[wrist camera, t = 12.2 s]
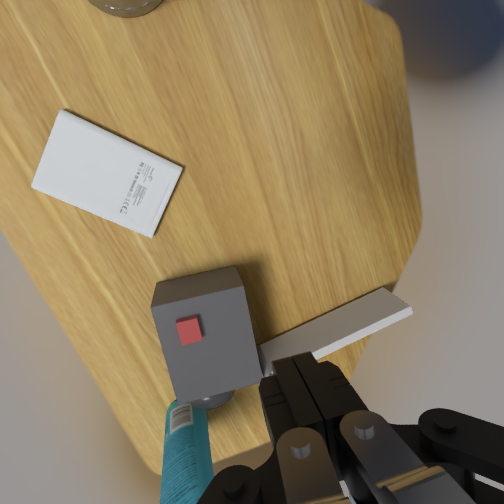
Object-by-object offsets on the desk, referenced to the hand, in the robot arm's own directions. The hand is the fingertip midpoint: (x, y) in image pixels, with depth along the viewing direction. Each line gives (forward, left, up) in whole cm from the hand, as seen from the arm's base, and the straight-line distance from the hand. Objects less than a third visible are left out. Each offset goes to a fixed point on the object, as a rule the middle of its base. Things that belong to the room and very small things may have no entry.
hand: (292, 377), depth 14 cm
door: (+14, +9, -29) cm, 33 cm away
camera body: (+11, -4, -29) cm, 31 cm away
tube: (+22, -9, -29) cm, 38 cm away
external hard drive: (-8, -10, -30) cm, 32 cm away
